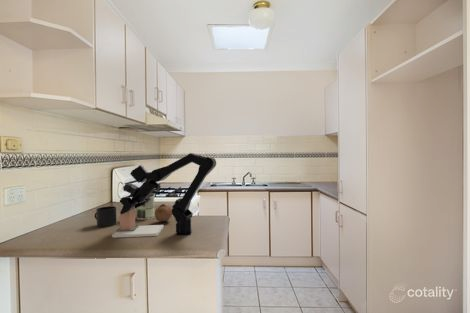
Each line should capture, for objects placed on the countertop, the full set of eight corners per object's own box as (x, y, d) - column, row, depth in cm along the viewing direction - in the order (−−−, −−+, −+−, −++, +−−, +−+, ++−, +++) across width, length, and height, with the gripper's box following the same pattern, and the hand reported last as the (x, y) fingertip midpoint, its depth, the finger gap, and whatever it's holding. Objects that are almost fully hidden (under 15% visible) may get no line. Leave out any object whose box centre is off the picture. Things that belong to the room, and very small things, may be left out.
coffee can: (135, 220, 146) (135, 195, 146) (137, 216, 156) (136, 193, 155) (154, 218, 149) (154, 194, 149) (154, 214, 159) (154, 192, 158)
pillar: (135, 227, 127) (134, 205, 127) (129, 230, 122) (129, 207, 122) (125, 227, 128) (125, 205, 128) (120, 230, 123) (119, 207, 123)
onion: (161, 225, 134) (161, 206, 134) (151, 222, 140) (150, 204, 140) (176, 221, 142) (175, 203, 142) (165, 219, 148) (165, 201, 148)
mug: (101, 222, 144) (100, 206, 144) (120, 222, 142) (119, 206, 141) (88, 226, 135) (87, 209, 134) (108, 227, 132) (108, 210, 132)
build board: (163, 227, 131) (163, 223, 131) (157, 235, 117) (156, 231, 117) (123, 228, 130) (123, 225, 130) (111, 237, 116) (111, 233, 116)
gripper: (143, 176, 134) (124, 197, 135) (123, 179, 115) (101, 204, 117) (158, 191, 133) (139, 212, 134) (140, 197, 114) (117, 221, 116)
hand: (124, 212), depth 125 cm, fingers open, 6 cm apart
